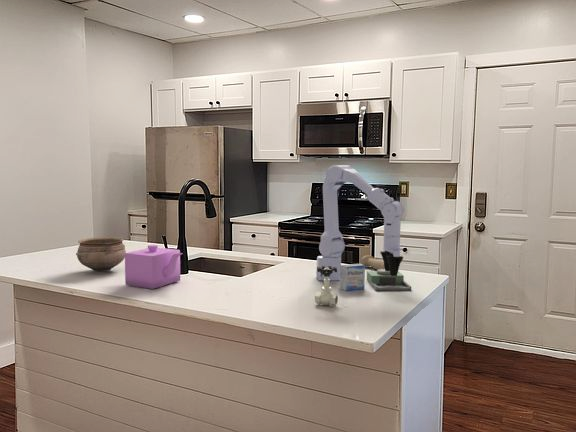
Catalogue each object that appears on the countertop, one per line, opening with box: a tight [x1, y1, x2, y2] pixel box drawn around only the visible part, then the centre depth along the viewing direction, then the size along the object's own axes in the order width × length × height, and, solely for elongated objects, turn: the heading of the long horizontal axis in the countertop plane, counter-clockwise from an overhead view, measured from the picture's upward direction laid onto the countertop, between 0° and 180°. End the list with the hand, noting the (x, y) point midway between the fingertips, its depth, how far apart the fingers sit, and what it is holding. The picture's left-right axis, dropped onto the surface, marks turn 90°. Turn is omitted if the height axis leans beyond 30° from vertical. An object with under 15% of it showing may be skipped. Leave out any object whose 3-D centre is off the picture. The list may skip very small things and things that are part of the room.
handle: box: [360, 254, 385, 271], centre depth 215 cm, size 5×6×15 cm
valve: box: [314, 266, 339, 307], centre depth 160 cm, size 7×7×12 cm
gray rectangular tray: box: [370, 280, 412, 292], centre depth 184 cm, size 13×9×2 cm
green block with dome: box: [366, 269, 405, 285], centre depth 192 cm, size 12×8×4 cm
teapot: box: [124, 244, 183, 290], centre depth 189 cm, size 15×25×14 cm, turn 63°
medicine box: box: [339, 263, 366, 292], centre depth 182 cm, size 8×4×9 cm, turn 115°
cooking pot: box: [75, 236, 127, 272], centre depth 211 cm, size 25×19×12 cm
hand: (390, 273), depth 183 cm, fingers open, 7 cm apart
